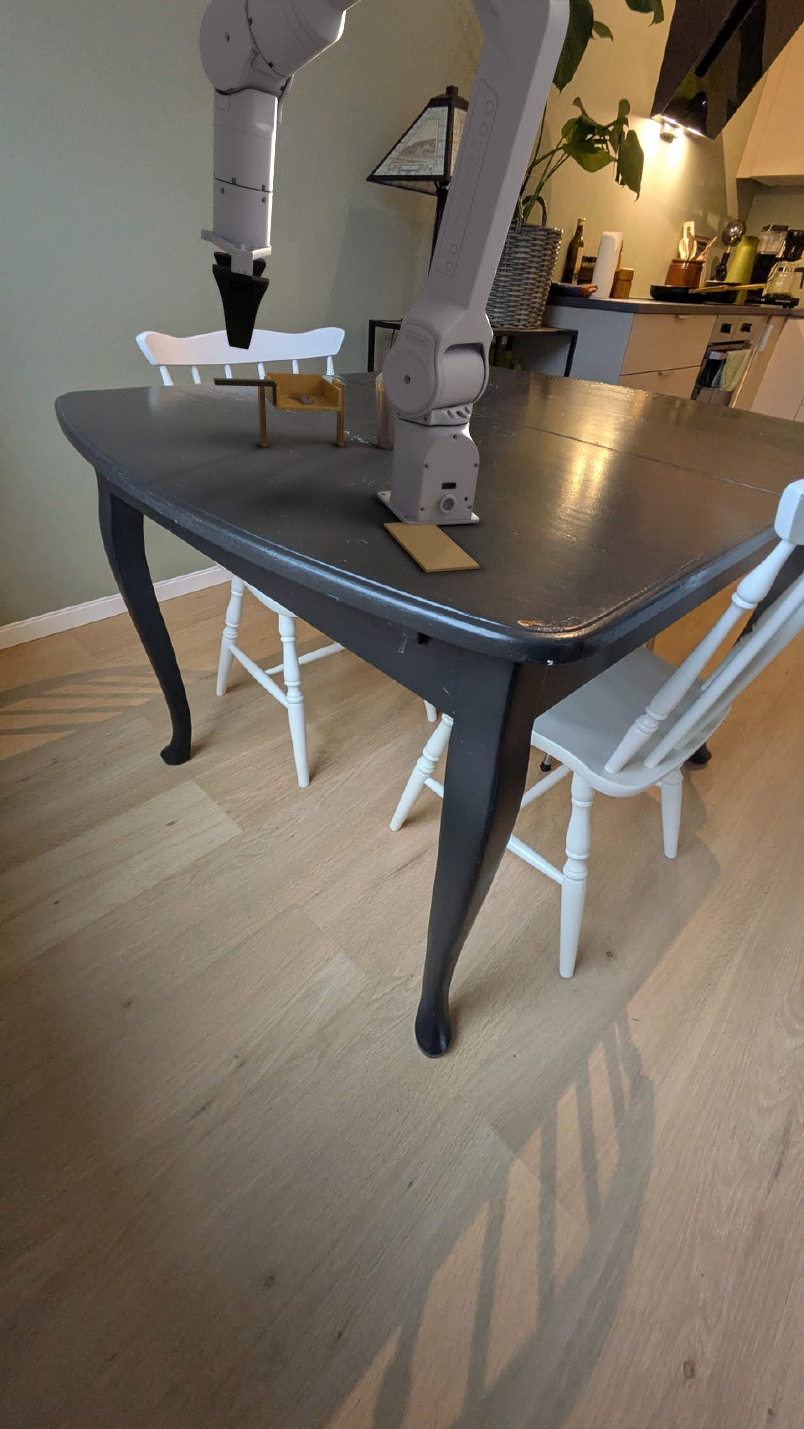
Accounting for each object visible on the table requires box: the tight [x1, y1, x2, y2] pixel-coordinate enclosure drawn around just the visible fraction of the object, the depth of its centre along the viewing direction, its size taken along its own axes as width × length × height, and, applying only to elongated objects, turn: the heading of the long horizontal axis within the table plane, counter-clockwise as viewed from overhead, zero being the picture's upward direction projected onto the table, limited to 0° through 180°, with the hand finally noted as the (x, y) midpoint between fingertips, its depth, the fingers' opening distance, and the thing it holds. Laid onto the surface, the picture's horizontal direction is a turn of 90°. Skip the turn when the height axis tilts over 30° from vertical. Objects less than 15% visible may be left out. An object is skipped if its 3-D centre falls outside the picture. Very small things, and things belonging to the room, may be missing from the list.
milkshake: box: [375, 372, 396, 450], centre depth 84 cm, size 4×5×10 cm
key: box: [290, 393, 314, 405], centre depth 80 cm, size 5×2×1 cm, turn 20°
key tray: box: [213, 372, 341, 412], centre depth 78 cm, size 9×16×3 cm, turn 110°
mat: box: [383, 521, 480, 573], centre depth 58 cm, size 11×5×1 cm, turn 20°
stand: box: [257, 381, 346, 448], centre depth 81 cm, size 2×11×8 cm, turn 110°
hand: (238, 338), depth 71 cm, fingers open, 7 cm apart
